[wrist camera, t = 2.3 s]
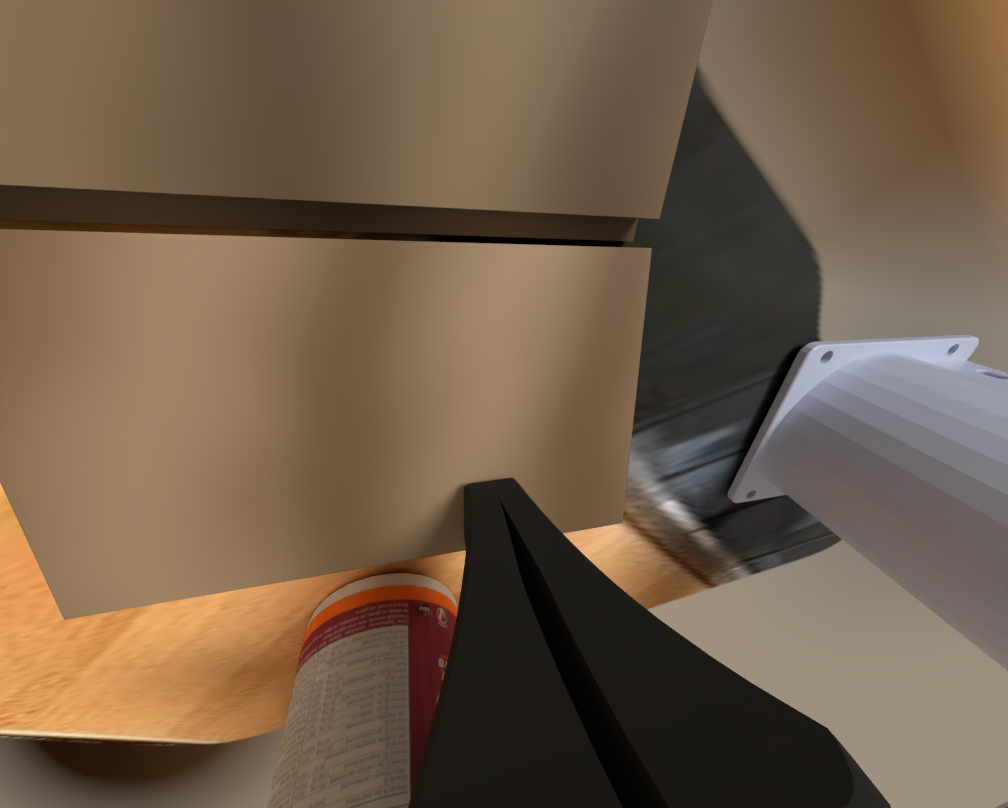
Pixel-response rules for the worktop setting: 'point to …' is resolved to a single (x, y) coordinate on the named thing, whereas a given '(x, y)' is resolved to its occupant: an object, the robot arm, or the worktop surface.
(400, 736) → the pill bottle
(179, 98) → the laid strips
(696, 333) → the worktop surface
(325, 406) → the plank
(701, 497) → the worktop surface
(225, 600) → the worktop surface
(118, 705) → the worktop surface
